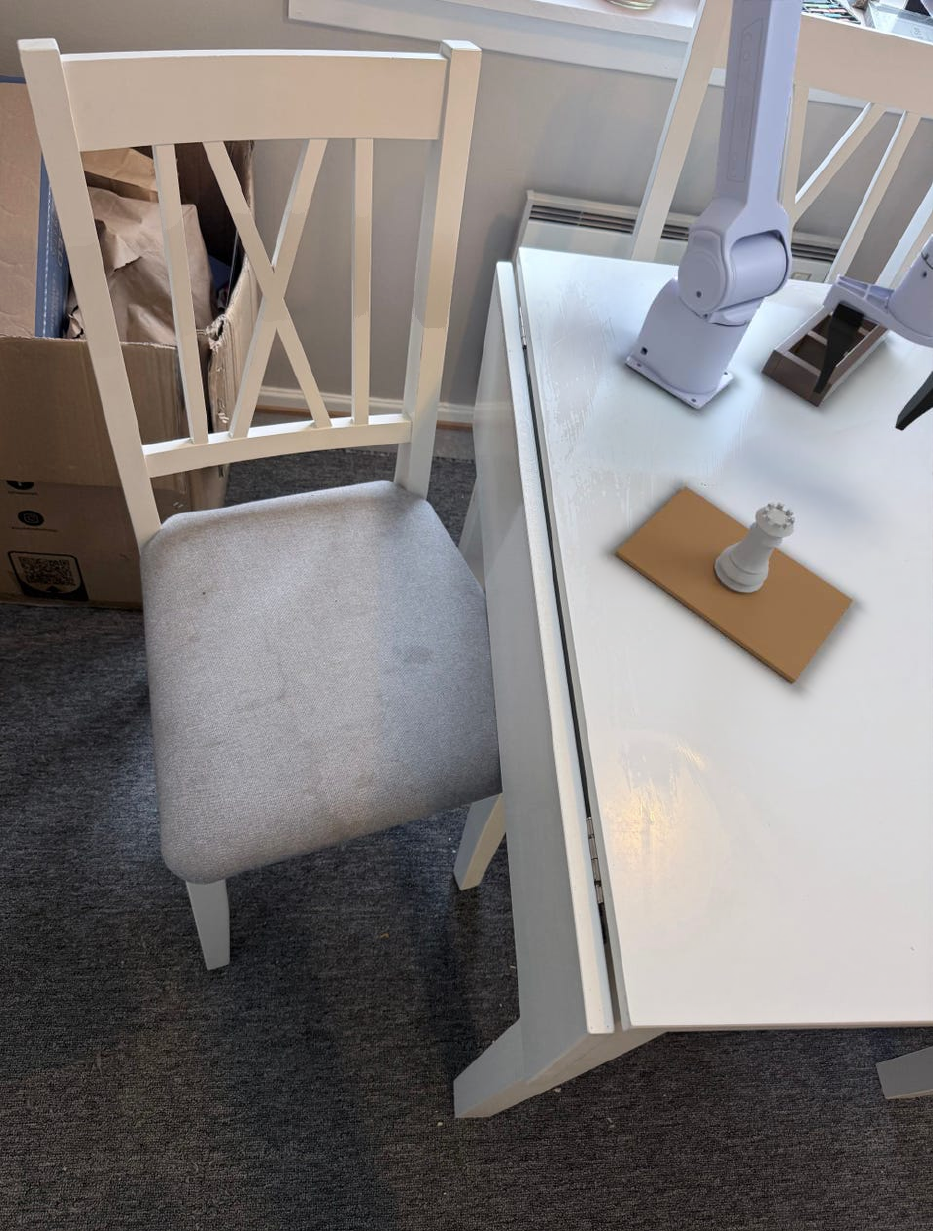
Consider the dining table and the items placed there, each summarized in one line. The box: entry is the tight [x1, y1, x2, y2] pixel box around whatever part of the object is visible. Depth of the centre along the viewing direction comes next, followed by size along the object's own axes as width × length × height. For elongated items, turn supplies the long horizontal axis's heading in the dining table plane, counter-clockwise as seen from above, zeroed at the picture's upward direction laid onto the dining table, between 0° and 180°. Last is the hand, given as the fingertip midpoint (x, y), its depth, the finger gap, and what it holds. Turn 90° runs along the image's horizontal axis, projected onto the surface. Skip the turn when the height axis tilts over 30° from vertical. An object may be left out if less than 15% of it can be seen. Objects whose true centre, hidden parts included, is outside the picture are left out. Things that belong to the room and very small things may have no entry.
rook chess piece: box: [715, 501, 796, 593], centre depth 70 cm, size 4×4×8 cm
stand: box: [761, 305, 892, 407], centre depth 96 cm, size 7×20×3 cm, turn 140°
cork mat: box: [615, 485, 854, 684], centre depth 74 cm, size 18×12×1 cm, turn 50°
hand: (858, 405), depth 74 cm, fingers open, 7 cm apart
